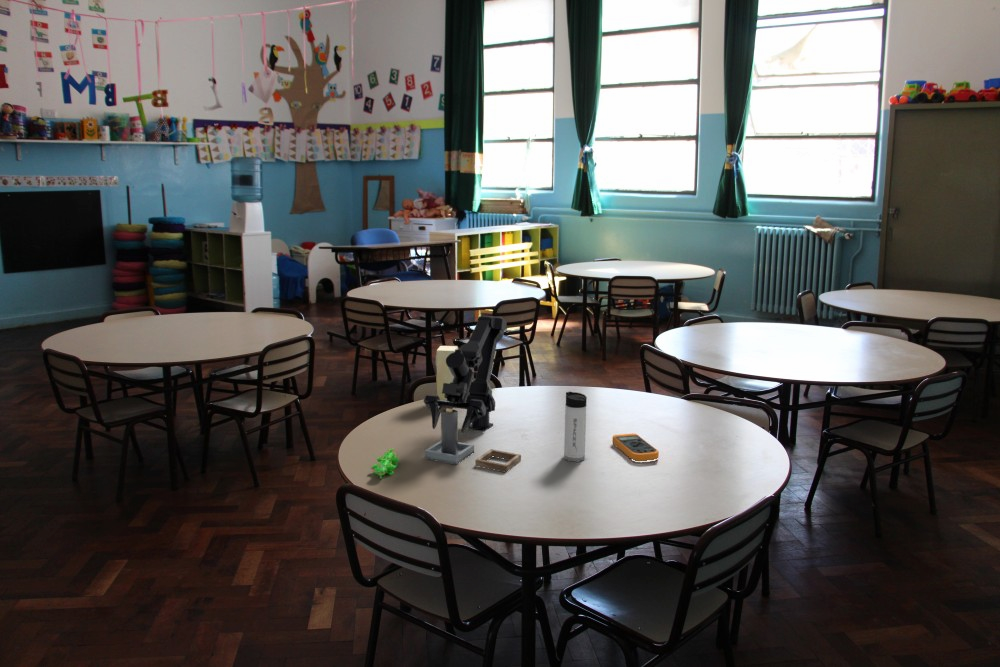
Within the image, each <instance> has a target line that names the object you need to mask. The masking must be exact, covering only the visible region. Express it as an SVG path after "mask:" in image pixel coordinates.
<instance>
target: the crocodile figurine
mask: <svg viewBox="0 0 1000 667" xmlns="http://www.w3.org/2000/svg"><path fill="white" fill-rule="evenodd" d="M393 451H394V448H393V447H390V448H389V449H388V451H386V452H384V455H380V456H379V457H378V458H376V461H377V463H375V464H373V465H372V466H371V468H372V469H373V470H374V472H373V473H374V474H375V475H377V476H379V477H378V479H383V476H385V475H386V474H388V475H389V476H391V475H394V473H395V472H394V470H395V469H396V468H397V467H398V466H399V465H398V463H399V462H400V458H398V456H397V453H396V452H395V453H394V452H393Z"/></svg>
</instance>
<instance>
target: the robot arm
mask: <svg viewBox="0 0 1000 667" xmlns="http://www.w3.org/2000/svg"><path fill="white" fill-rule="evenodd" d="M476 322H477V323H476V325H475V326H474V329H473V331H472V333H471V335H470V337H469V339H468V341H467V342H466V343H464V344H462V345H461V346H460V348H458V350H457V349H456V350H455V352H454V353H451V354H450V355H449V356H448V357H447V358H446V364H447V366H448V368H449V370H450V372H451V374H452V375H453V376H454V378H453V381H452V383H451V382H450V384H449V383H443V389H442V394H445V396H444V397H445V398H447V400H440V398H439V396H438V395H437V394H429V393H427V394H426V395H425V396H424V399H423V400H422V401H423V403H424V405H425V406H426V408H427V410H429V411H430V412H431V425H432V426H431V427H432V429H433V430H435V429H436V427H437V424H438V422H439V419H440V417H441V410H442V407H443V408H444V407H445V408H454V409H461V410H462V409H463V410H466V412H465V416H464V420H463V423H462V425H461V430H460V431H461V433H464V432H465V431H467V429H468V428H470V429H475V430H479V431H486V430H488V429H490V428H491V427H493V426H494V423H492V422H490V413H491V412H495V410H496V400H495V398H494V396H493V390H492V387H491V385H490V381H491V380H490V379H491V375H492V370H493V365H494V361H495V360H494V359H495V355H496V350H497V346H498V343H499V342H500V341H501V340H502V339H503V337H504V334H505V331H506V330H507V326H508V325H507V324H508V323H507V321H506V320H505V319H504V317H503V316H491V315H479V316H478V317H477V320H476ZM471 368H472V369H477V371H476V376H475V375H474V372H473V370H472V369H471Z"/></svg>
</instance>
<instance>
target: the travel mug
mask: <svg viewBox="0 0 1000 667" xmlns="http://www.w3.org/2000/svg"><path fill="white" fill-rule="evenodd" d="M587 400H588V399H587V396H586V395H585V394H583V393H581V392H575V391H566V392H565V410H564V413H565V414H564V446H563V449H564V451H563V457H564V459H565V460H566V459H567V460H566V461H569V462H580V461H581V460H582V461H583V460H584V459H585V458H586V454H585V453H586V435H587V434H586V431H587V430H586V429H587V407H588V406H587V402H588V401H587Z"/></svg>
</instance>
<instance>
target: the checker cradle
mask: <svg viewBox="0 0 1000 667" xmlns="http://www.w3.org/2000/svg"><path fill="white" fill-rule="evenodd" d="M492 456H494V457H492ZM491 457H492V458H495V457H499V458H498V459H500V458H504V459H503V460H505V459H509V460H507V462H506V463H501V462H496V461H490V459H492V458H491ZM489 458H490V459H489ZM488 459H489V460H488ZM487 460H488V461H487ZM474 461H475V467H476V466H480V467H479V468H481V467H485V468H484V469H486V468H489V469H488V470H491V469H495V470H494V471H496V470H499V471H498V472H501V471H505V472H504V473H508V472H509V471H510V470H511V469H513V468H514V467H515V466H517V465H518V464H519V463H521V461H522V455H521V453H520V454H518V453H513V452H508V451H503V450H499V449H498V450H497V449H489V450H487V451H486V452H485V453H483V454H482V455H481V456H479V457H477V458H476V459H475V460H474ZM517 463H518V464H517ZM516 464H517V465H516ZM513 466H514V467H513ZM512 467H513V468H512ZM509 469H510V470H509ZM508 470H509V471H508ZM507 471H508V472H507Z"/></svg>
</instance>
